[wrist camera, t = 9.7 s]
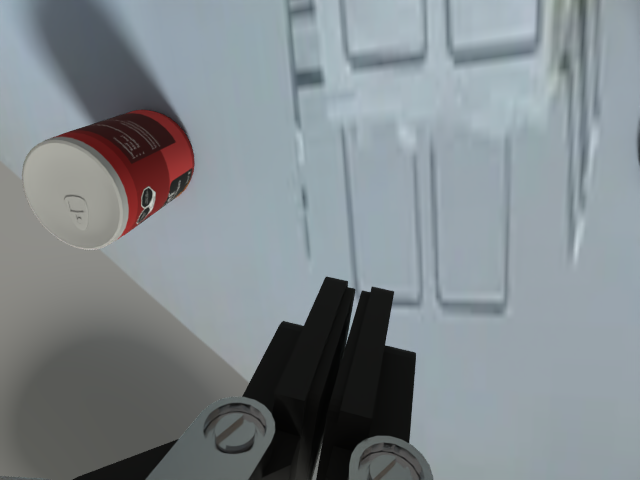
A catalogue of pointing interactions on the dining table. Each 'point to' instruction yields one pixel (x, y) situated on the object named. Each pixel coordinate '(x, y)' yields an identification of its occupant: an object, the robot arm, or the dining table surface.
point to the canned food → (107, 177)
